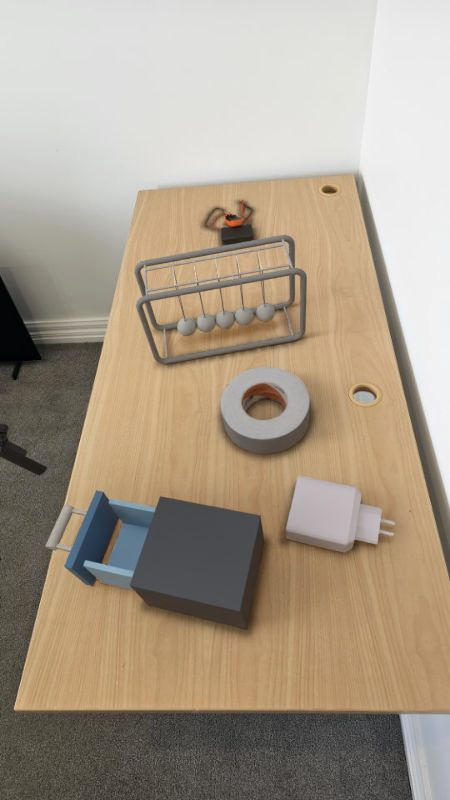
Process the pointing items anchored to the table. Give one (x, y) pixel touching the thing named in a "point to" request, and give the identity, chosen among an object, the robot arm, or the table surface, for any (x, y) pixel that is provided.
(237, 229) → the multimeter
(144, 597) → the cabinet
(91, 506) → the drawer
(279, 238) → the newton's cradle
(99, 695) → the table surface
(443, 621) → the table surface
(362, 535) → the charger
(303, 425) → the tape roll
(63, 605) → the table surface
